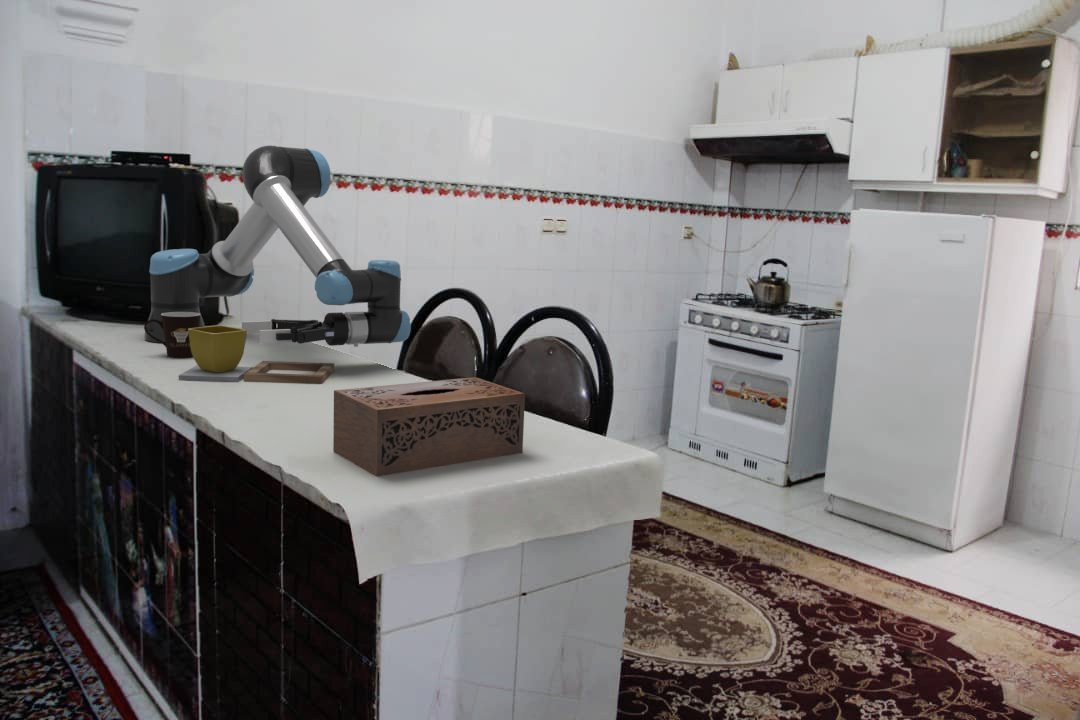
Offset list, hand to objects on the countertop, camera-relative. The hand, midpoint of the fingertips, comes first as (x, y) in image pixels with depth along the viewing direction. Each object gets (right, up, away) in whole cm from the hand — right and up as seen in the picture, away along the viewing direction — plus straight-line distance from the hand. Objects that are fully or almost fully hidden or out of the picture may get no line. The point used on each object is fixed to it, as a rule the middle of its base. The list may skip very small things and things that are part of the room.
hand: (250, 332), depth 192 cm
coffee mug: (-24, -5, +18) cm, 31 cm away
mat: (-6, -9, -2) cm, 12 cm away
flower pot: (-6, -8, -2) cm, 11 cm away
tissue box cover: (+45, -21, -53) cm, 73 cm away
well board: (+8, -9, +2) cm, 13 cm away
